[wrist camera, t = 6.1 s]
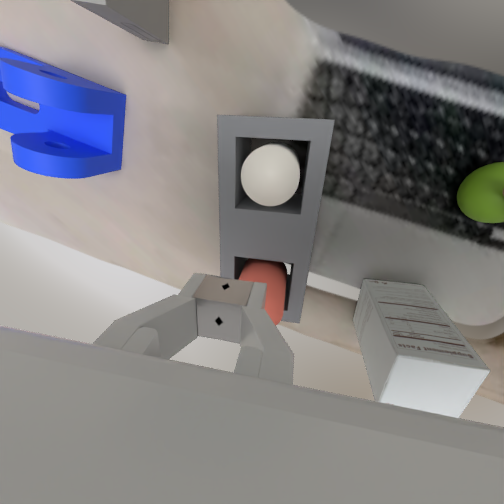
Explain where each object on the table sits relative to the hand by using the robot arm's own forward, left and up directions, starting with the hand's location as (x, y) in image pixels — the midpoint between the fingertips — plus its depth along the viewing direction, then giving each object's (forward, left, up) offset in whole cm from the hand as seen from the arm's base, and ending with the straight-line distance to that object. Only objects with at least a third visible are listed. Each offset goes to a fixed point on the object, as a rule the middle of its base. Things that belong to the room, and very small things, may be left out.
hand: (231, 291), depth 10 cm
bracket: (+27, -7, -21) cm, 35 cm away
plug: (0, -2, -20) cm, 20 cm away
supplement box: (-16, +14, -21) cm, 30 cm away
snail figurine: (-20, -2, -21) cm, 29 cm away
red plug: (0, +9, -16) cm, 18 cm away
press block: (0, +3, -21) cm, 21 cm away
